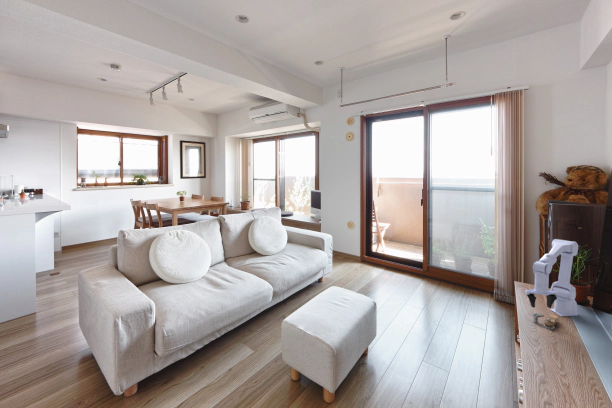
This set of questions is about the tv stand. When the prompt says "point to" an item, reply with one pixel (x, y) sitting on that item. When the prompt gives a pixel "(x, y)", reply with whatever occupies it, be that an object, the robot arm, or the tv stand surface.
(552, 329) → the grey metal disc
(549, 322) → the link
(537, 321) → the block
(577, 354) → the tv stand surface
